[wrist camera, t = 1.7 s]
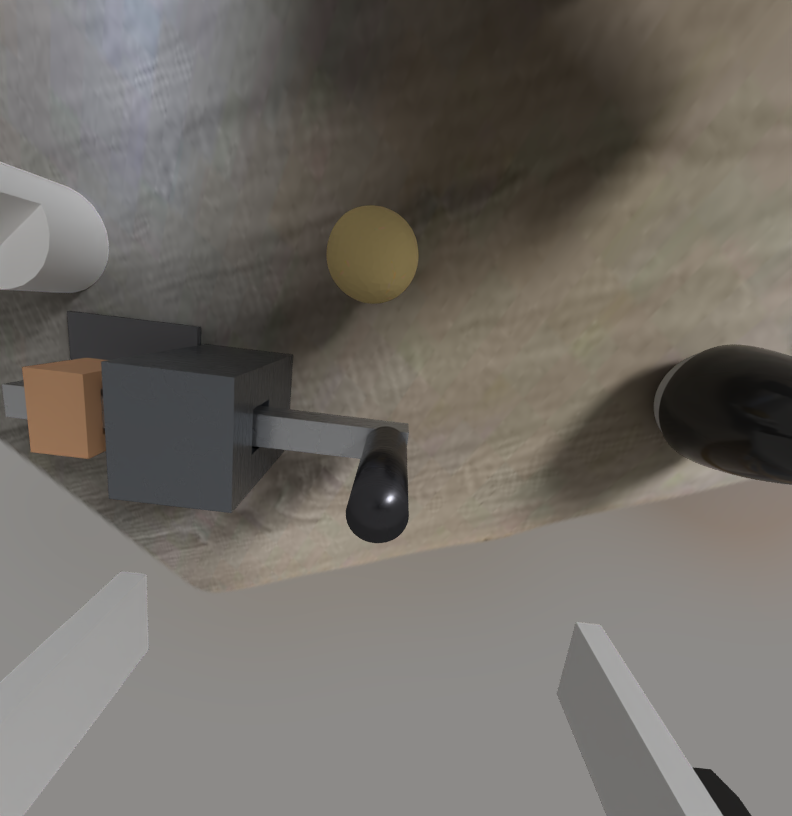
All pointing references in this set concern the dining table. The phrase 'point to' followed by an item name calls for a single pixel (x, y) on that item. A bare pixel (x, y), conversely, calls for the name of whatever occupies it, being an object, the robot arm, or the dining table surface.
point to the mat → (125, 336)
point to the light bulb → (372, 254)
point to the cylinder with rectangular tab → (48, 235)
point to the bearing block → (190, 424)
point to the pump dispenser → (731, 411)
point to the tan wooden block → (65, 407)
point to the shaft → (330, 435)
